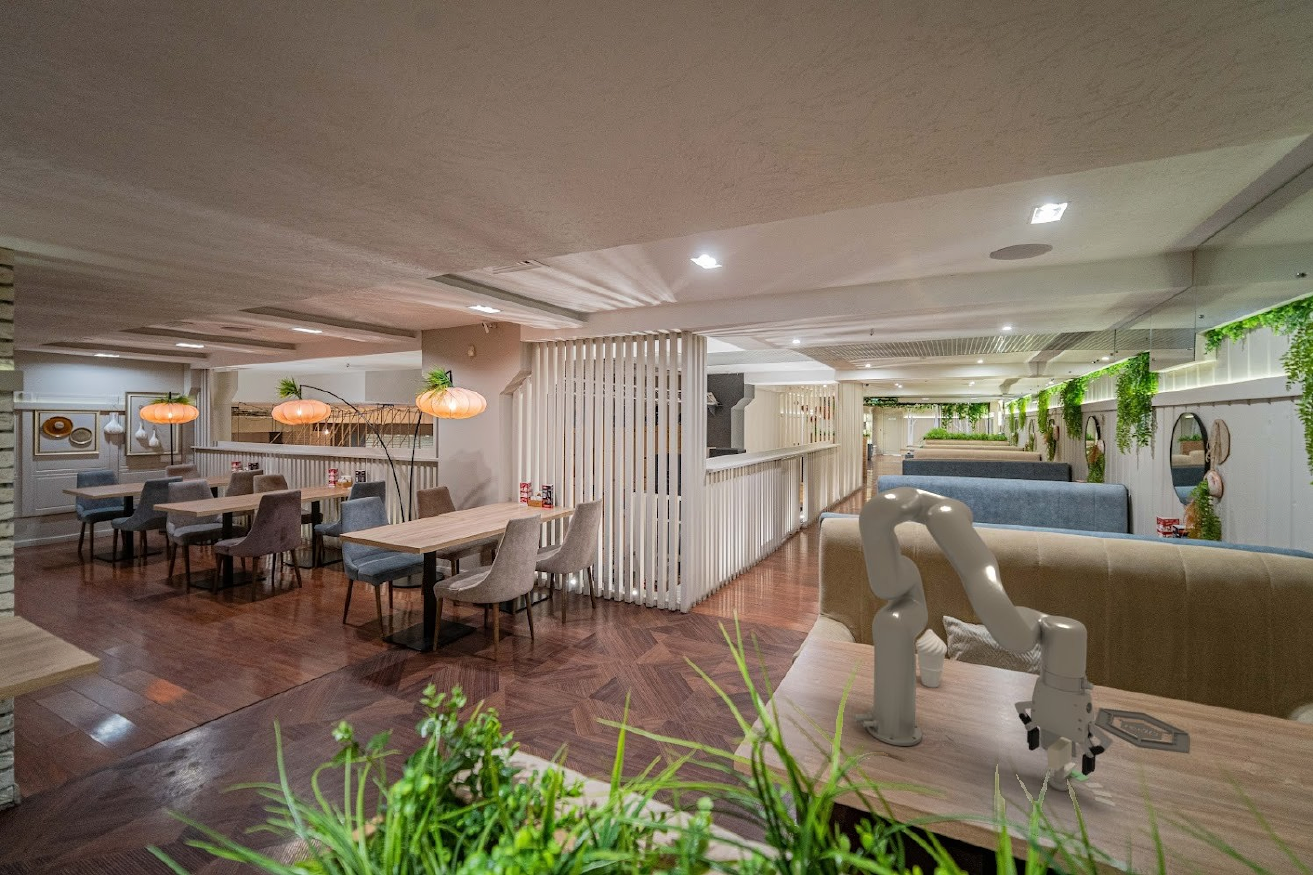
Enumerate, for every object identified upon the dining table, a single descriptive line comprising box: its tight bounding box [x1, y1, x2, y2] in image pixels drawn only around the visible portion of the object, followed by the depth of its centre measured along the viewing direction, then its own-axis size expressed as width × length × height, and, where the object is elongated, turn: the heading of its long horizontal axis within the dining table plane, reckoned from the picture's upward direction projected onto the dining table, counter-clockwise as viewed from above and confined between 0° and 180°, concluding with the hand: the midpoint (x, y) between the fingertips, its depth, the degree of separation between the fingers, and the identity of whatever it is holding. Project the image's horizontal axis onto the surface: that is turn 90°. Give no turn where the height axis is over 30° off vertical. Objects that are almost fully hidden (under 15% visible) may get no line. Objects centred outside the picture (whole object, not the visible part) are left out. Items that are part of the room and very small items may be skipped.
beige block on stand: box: [1046, 737, 1077, 792], centre depth 117 cm, size 11×3×9 cm, turn 125°
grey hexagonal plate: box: [1094, 707, 1190, 754], centre depth 140 cm, size 17×20×1 cm
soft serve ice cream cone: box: [914, 628, 948, 689], centre depth 163 cm, size 8×8×16 cm
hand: (1059, 760), depth 116 cm, fingers open, 9 cm apart
